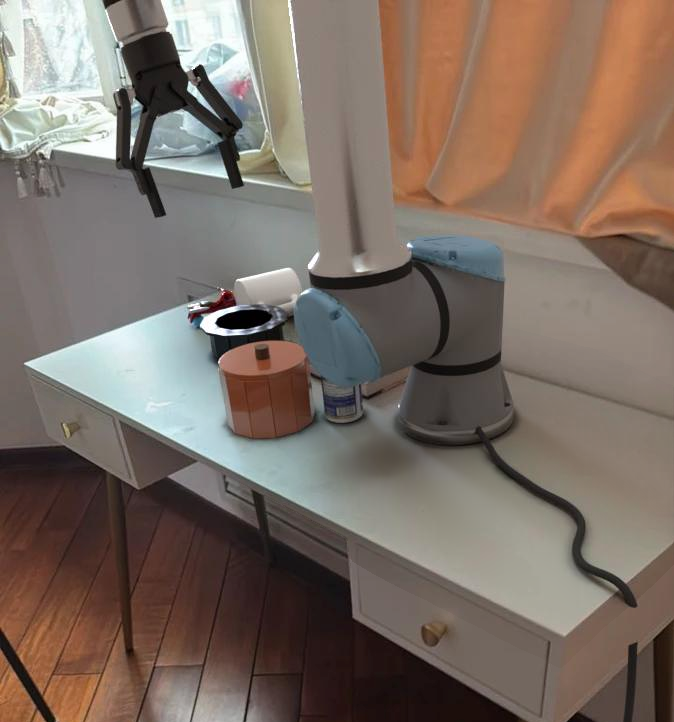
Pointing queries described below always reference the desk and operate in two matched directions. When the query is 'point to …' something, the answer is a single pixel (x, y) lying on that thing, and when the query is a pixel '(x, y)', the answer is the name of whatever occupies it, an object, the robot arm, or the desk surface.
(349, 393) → the pill bottle
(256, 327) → the black flanged round holder
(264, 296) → the mug
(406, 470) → the desk surface
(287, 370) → the lidded pot
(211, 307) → the hoverbike
